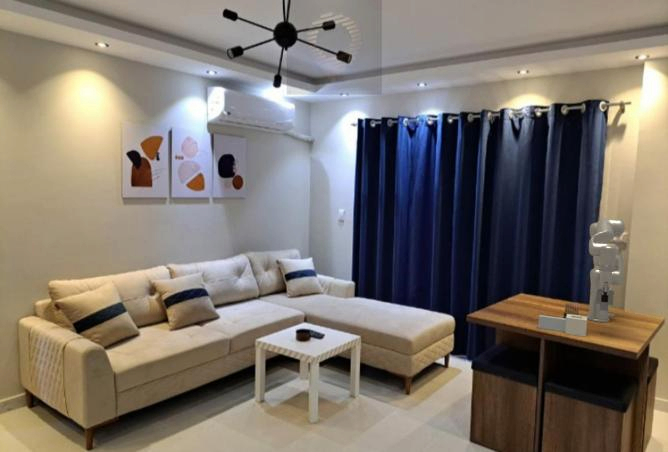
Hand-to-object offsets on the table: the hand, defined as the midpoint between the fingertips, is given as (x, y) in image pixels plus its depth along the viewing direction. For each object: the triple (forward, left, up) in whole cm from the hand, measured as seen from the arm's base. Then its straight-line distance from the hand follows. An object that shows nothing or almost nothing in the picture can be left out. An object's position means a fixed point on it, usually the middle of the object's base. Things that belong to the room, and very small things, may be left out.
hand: (604, 300), depth 262 cm
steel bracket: (0, 0, -5) cm, 5 cm away
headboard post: (+20, -5, -18) cm, 28 cm away
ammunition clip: (+6, -20, -19) cm, 28 cm away
